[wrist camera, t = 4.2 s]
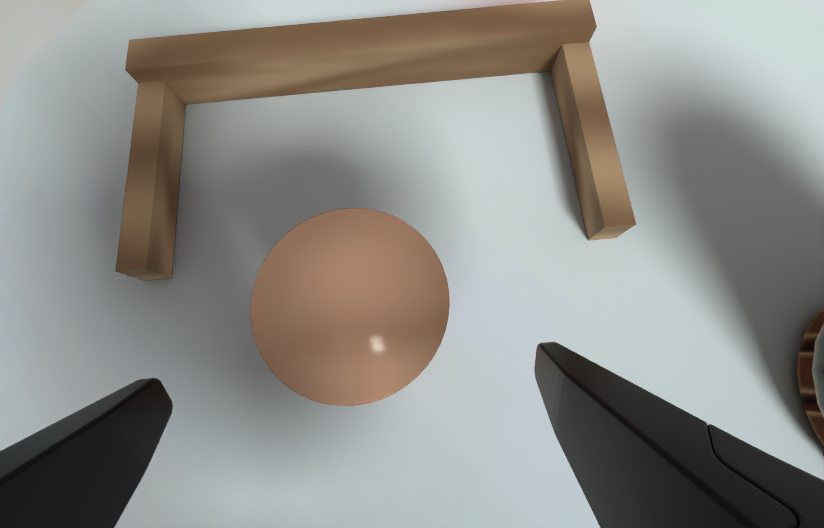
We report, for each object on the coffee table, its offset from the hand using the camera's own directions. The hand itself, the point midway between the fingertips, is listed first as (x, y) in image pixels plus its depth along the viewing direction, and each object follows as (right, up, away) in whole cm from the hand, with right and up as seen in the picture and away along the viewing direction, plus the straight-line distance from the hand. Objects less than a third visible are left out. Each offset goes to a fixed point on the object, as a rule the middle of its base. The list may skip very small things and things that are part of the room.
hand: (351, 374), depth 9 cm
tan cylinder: (0, -1, +10) cm, 11 cm away
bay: (-1, +9, +13) cm, 16 cm away
